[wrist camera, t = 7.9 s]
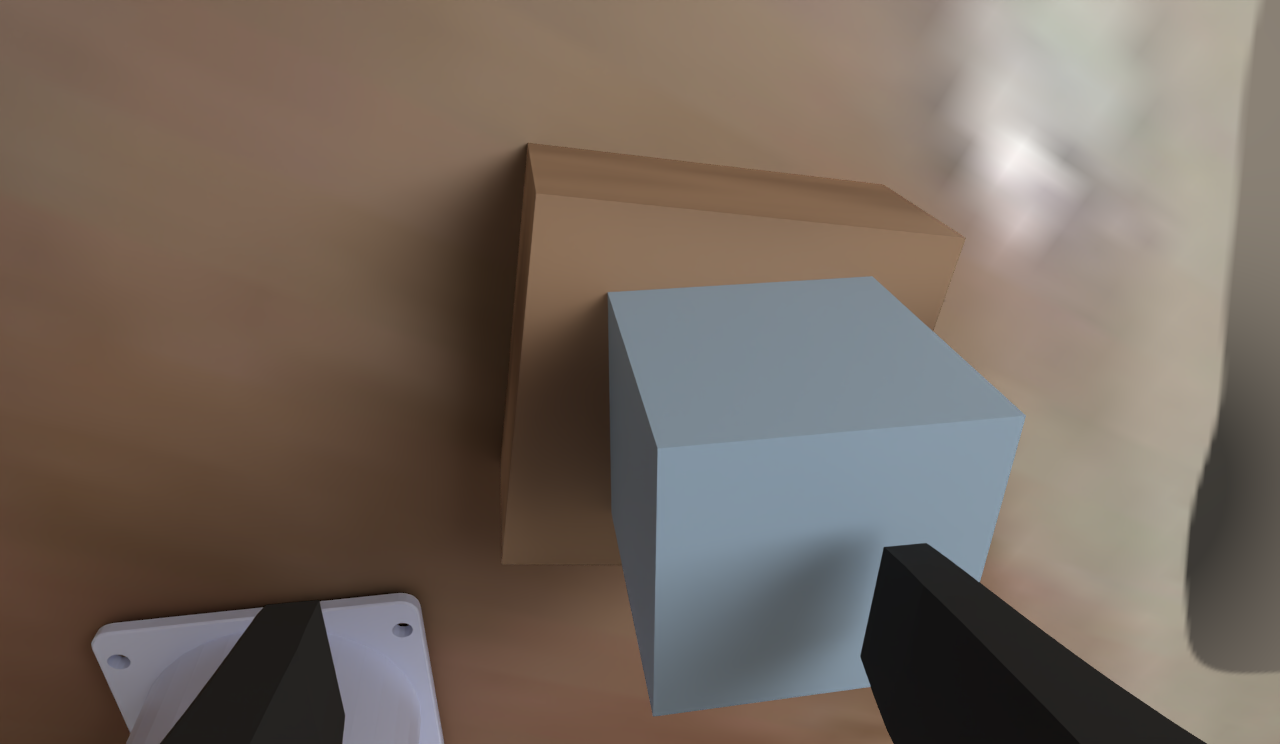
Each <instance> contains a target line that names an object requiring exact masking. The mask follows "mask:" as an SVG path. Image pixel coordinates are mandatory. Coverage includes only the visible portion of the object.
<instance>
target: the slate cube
mask: <svg viewBox="0 0 1280 744" xmlns="http://www.w3.org/2000/svg"><path fill="white" fill-rule="evenodd" d="M608 340H609V398H610V456H611V513H612V518H613V523H614V528H615V533H616V538H617V543H618V548H619V553H620V557H621V562H622V567H623V572H624V577H625V582H626V587H627V592H628V596H629V601H630V606H631V611H632V616H633V621H634V626H635V631H636V635H637V640H638V645H639V650H640V655H641V660H642V665H643V670H644V674H645V679H646V684H647V689H648V694H649V699H650V704H651V709H652V713H653V716H661V715H668V714H675V713H683V712H690V711H697V710H704V709H712V708H719V707H726V706H734V705H741V704H748V703H756V702H763V701H770V700H778V699H785V698H792V697H799V696H807V695H814V694H821V693H829V692H836V691H843V690H851V689H858V688H865V687H871V686H870V683H869V680H868V677H867V675H866V672H865V669H864V666H863V663H862V660H861V657H860V655H861V650H862V645H863V641H864V636H865V632H866V627H867V622H868V618H869V613H870V608H871V604H872V599H873V595H874V590H875V585H876V581H877V576H878V571H879V567H880V562H881V557H882V553H883V548H884V547H888V546H899V545H910V544H920V543H927V544H929V545H930V546H932V547H933V548H934V549H936V550H937V551H939V552H940V553H941V554H943V555H944V556H945V557H947V558H948V559H949V560H951V561H952V562H953V563H955V564H956V565H957V566H959V567H960V568H961V569H963V570H964V571H965V572H967V573H968V574H969V575H970V576H972V577H973V578H974V579H976V580H977V581H978V582H980V579H981V576H982V572H983V569H984V565H985V561H986V558H987V554H988V550H989V547H990V543H991V540H992V536H993V532H994V529H995V525H996V522H997V518H998V514H999V511H1000V507H1001V504H1002V500H1003V496H1004V493H1005V489H1006V485H1007V482H1008V478H1009V475H1010V471H1011V467H1012V464H1013V460H1014V457H1015V453H1016V449H1017V446H1018V442H1019V439H1020V435H1021V431H1022V428H1023V424H1024V420H1025V417H1026V415H1024V414H1023V413H1022V412H1021V411H1020V410H1019V409H1018V408H1017V407H1016V406H1015V405H1013V404H1012V403H1011V402H1010V401H1009V400H1008V399H1007V398H1006V397H1005V396H1004V395H1002V394H1001V393H1000V392H999V391H998V390H997V389H996V388H995V387H994V386H993V385H991V384H990V383H989V382H988V381H987V380H986V379H985V378H984V377H983V376H982V375H980V374H979V373H978V372H977V371H976V370H975V369H974V368H973V367H972V366H970V365H969V364H968V363H967V362H966V361H965V360H964V359H963V358H962V357H961V356H959V355H958V354H957V353H956V352H955V351H954V350H953V349H952V348H951V347H950V346H948V345H947V344H946V343H945V342H944V341H943V340H942V339H941V338H940V337H939V336H937V335H936V334H935V333H934V332H933V331H932V330H931V329H930V328H929V327H928V326H926V325H925V324H924V323H923V322H922V321H921V320H920V319H919V318H918V317H917V316H915V315H914V314H913V313H912V312H911V311H910V310H909V309H908V308H907V307H906V306H904V305H903V304H902V303H901V302H900V301H899V300H898V299H897V298H896V297H895V296H893V295H892V294H891V293H890V292H889V291H888V290H887V289H886V288H885V287H884V286H882V285H881V284H880V283H879V282H878V281H877V280H876V279H875V278H874V277H873V276H869V277H852V278H836V279H819V280H802V281H786V282H769V283H753V284H736V285H719V286H703V287H686V288H670V289H653V290H637V291H620V292H608Z"/></svg>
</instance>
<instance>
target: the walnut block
mask: <svg viewBox="0 0 1280 744" xmlns="http://www.w3.org/2000/svg"><path fill="white" fill-rule="evenodd" d="M965 239H966V238H965V237H964V236H962V235H960V234H959V233H957V232H956V231H954V230H953V229H951V228H950V227H948V226H947V225H945V224H943V223H942V222H940V221H939V220H937V219H936V218H934V217H933V216H931V215H930V214H928V213H926V212H925V211H923V210H922V209H920V208H919V207H917V206H916V205H914V204H913V203H911V202H909V201H908V200H906V199H905V198H903V197H902V196H900V195H899V194H897V193H896V192H894V191H892V190H891V189H889V188H888V187H886V186H885V185H882V184H873V183H865V182H856V181H848V180H839V179H831V178H822V177H814V176H805V175H797V174H788V173H780V172H771V171H762V170H754V169H745V168H737V167H728V166H720V165H711V164H703V163H694V162H686V161H677V160H669V159H660V158H652V157H643V156H635V155H626V154H618V153H609V152H601V151H592V150H584V149H575V148H567V147H558V146H550V145H541V144H533V143H528V145H527V157H526V169H525V181H524V192H523V204H522V216H521V227H520V239H519V251H518V263H517V274H516V286H515V298H514V309H513V321H512V333H511V345H510V356H509V368H508V380H507V391H506V403H505V415H504V427H503V438H502V450H501V462H500V481H501V549H502V565H622V562H621V557H620V553H619V548H618V543H617V538H616V533H615V528H614V523H613V518H612V513H611V456H610V398H609V340H608V292H620V291H637V290H653V289H670V288H686V287H703V286H719V285H736V284H753V283H769V282H786V281H802V280H819V279H836V278H852V277H869V276H873V277H874V278H875V279H876V280H877V281H878V282H879V283H880V284H881V285H882V286H884V287H885V288H886V289H887V290H888V291H889V292H890V293H891V294H892V295H893V296H895V297H896V298H897V299H898V300H899V301H900V302H901V303H902V304H903V305H904V306H906V307H907V308H908V309H909V310H910V311H911V312H912V313H913V314H914V315H915V316H917V317H918V318H919V319H920V320H921V321H922V322H923V323H924V324H925V325H926V326H928V327H929V328H930V329H931V330H932V331H933V330H934V327H935V324H936V322H937V319H938V316H939V313H940V310H941V307H942V305H943V302H944V299H945V296H946V293H947V290H948V287H949V285H950V282H951V279H952V276H953V273H954V270H955V267H956V265H957V262H958V259H959V256H960V253H961V250H962V247H963V245H964V242H965Z"/></svg>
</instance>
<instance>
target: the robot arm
mask: <svg viewBox="0 0 1280 744" xmlns="http://www.w3.org/2000/svg"><path fill="white" fill-rule="evenodd" d="M399 623H407V624H409V625H408V626H399V625H397V624H399ZM91 645H92V650H93V652H94V654H95V656H96V659H97V661H98V663H99V665H100V667H101V670H102V672H103V674H104V676H105V678H106V681H107V683H108V685H109V687H110V689H111V692H112V694H113V696H114V698H115V701H116V703H117V705H118V707H119V709H120V712H121V714H122V716H123V718H124V720H125V723H126V725H127V727H128V729H129V731H130V735H129V738H128V740H127V742H126V744H444V740H443V734H442V729H441V723H440V717H439V711H438V705H437V699H436V693H435V687H434V681H433V676H432V670H431V664H430V658H429V652H428V646H427V640H426V634H425V629H424V623H423V617H422V611H421V605H420V603H419V601H418V599H417V598H415V597H414V596H413V595H410V594H407V593H394V594H384V595H375V596H365V597H356V598H346V599H337V600H327V601H319V600H314V601H304V602H293V603H282V604H272V605H266V606H265V607H261V608H251V609H242V610H232V611H223V612H213V613H204V614H194V615H185V616H175V617H166V618H156V619H147V620H137V621H128V622H118V623H111V624H107V625H104V626H103V627H101V628H100V629H99V630H98V632H97V633H96V635H95V637H94V639H93V641H92V643H91ZM119 655H123V656H126V657H122V656H119ZM860 657H861V660H862V663H863V666H864V669H865V672H866V675H867V677H868V680H869V683H870V686H871V689H872V692H873V695H874V697H875V700H876V703H877V705H878V708H879V710H880V713H881V716H882V718H883V721H884V723H885V726H886V729H887V731H888V733H889V735H890V737H891V739H892V741H893V743H894V744H1206V743H1205V742H1203V741H1202V740H1200V739H1199V738H1197V737H1195V736H1194V735H1192V734H1191V733H1189V732H1188V731H1186V730H1184V729H1183V728H1181V727H1180V726H1178V725H1177V724H1175V723H1174V722H1172V721H1170V720H1169V719H1167V718H1166V717H1164V716H1163V715H1162V714H1160V713H1159V712H1157V711H1156V710H1154V709H1153V708H1151V707H1150V706H1148V705H1147V704H1145V703H1144V702H1142V701H1141V700H1139V699H1138V698H1136V697H1135V696H1133V695H1132V694H1130V693H1129V692H1127V691H1126V690H1125V689H1123V688H1122V687H1120V686H1119V685H1117V684H1116V683H1114V682H1113V681H1111V680H1110V679H1109V678H1107V677H1106V676H1104V675H1103V674H1102V673H1100V672H1099V671H1097V670H1096V669H1094V668H1093V667H1092V666H1090V665H1089V664H1087V663H1086V662H1085V661H1083V660H1082V659H1081V658H1079V657H1078V656H1076V655H1075V654H1074V653H1072V652H1071V651H1069V650H1068V649H1067V648H1065V647H1064V646H1063V645H1061V644H1060V643H1059V642H1057V641H1056V640H1055V639H1053V638H1052V637H1051V636H1049V635H1048V634H1047V633H1045V632H1044V631H1043V630H1041V629H1040V628H1039V627H1037V626H1036V625H1035V624H1033V623H1032V622H1031V621H1029V620H1028V619H1027V618H1025V617H1024V616H1023V615H1021V614H1020V613H1019V612H1017V611H1016V610H1015V609H1013V608H1012V607H1011V606H1010V605H1008V604H1007V603H1006V602H1004V601H1003V600H1002V599H1000V598H999V597H998V596H997V595H995V594H994V593H993V592H991V591H990V590H989V589H987V588H986V587H985V586H983V585H982V584H981V583H980V582H978V581H977V580H976V579H974V578H973V577H972V576H970V575H969V574H968V573H967V572H965V571H964V570H963V569H961V568H960V567H959V566H957V565H956V564H955V563H953V562H952V561H951V560H949V559H948V558H947V557H945V556H944V555H943V554H941V553H940V552H939V551H937V550H936V549H934V548H933V547H932V546H930V545H929V544H927V543H920V544H910V545H899V546H888V547H884V548H883V553H882V557H881V562H880V567H879V571H878V576H877V581H876V585H875V590H874V595H873V599H872V604H871V608H870V613H869V618H868V622H867V627H866V632H865V636H864V641H863V645H862V650H861V655H860Z"/></svg>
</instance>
